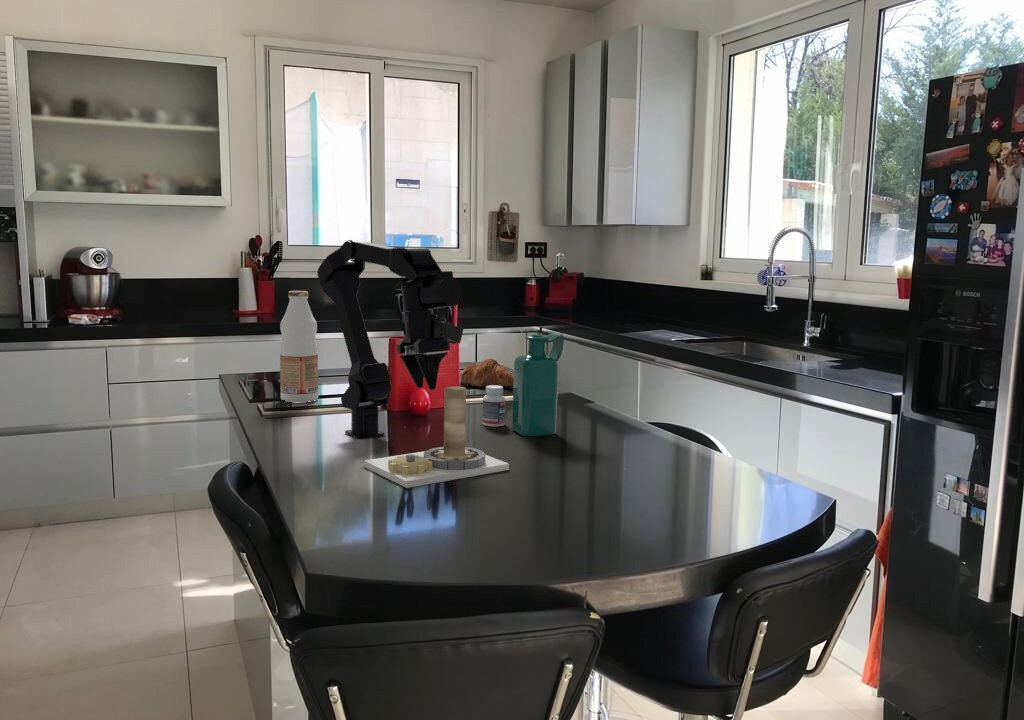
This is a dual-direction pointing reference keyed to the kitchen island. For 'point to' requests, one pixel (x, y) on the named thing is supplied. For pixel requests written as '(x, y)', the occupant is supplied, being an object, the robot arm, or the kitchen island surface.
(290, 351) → the fruit juice
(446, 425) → the disc
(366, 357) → the robot arm
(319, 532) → the kitchen island surface
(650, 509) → the kitchen island surface
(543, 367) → the pitcher
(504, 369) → the pastry
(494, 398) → the pill bottle
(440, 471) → the gear board
